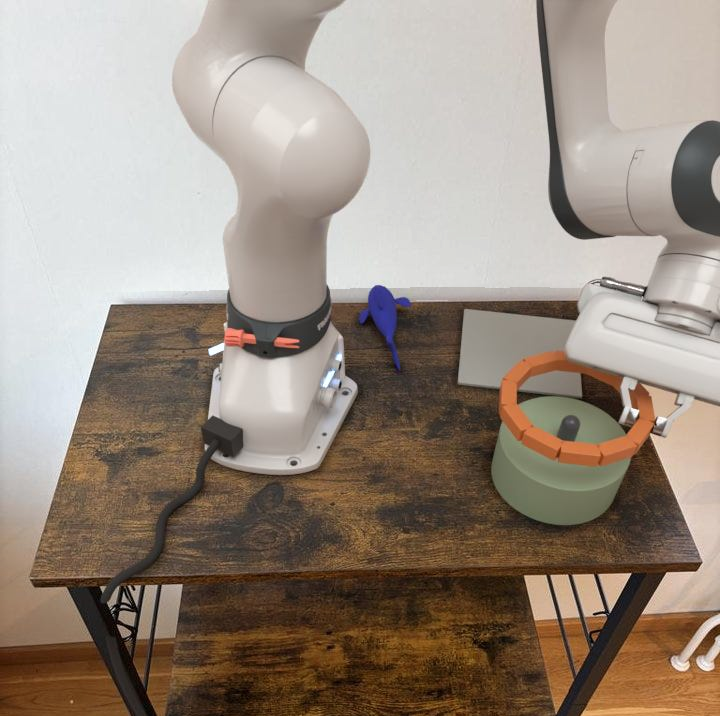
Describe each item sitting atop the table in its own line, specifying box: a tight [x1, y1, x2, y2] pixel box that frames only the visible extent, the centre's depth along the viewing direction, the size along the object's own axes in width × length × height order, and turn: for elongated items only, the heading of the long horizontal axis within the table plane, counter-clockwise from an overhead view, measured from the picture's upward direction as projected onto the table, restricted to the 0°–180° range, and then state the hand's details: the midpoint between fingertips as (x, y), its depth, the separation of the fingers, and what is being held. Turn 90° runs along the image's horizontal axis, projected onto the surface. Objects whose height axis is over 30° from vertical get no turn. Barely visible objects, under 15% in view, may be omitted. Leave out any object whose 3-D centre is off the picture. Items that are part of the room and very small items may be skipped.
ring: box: [498, 350, 656, 467], centre depth 77 cm, size 16×16×2 cm
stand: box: [490, 395, 632, 526], centre depth 82 cm, size 14×14×10 cm
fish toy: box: [358, 284, 412, 372], centre depth 99 cm, size 15×8×7 cm, turn 7°
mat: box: [457, 308, 583, 399], centre depth 100 cm, size 16×16×1 cm
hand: (642, 430), depth 75 cm, fingers closed on ring, 2 cm apart
